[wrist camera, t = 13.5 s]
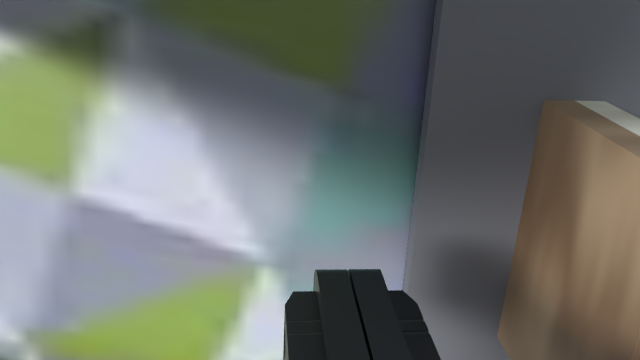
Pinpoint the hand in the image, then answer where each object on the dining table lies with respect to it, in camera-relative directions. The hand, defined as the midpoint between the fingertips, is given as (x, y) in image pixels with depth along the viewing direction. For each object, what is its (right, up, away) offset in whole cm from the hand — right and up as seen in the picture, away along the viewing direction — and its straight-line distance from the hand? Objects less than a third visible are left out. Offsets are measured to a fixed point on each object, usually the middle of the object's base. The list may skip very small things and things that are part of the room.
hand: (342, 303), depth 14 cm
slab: (+6, +1, +4) cm, 8 cm away
